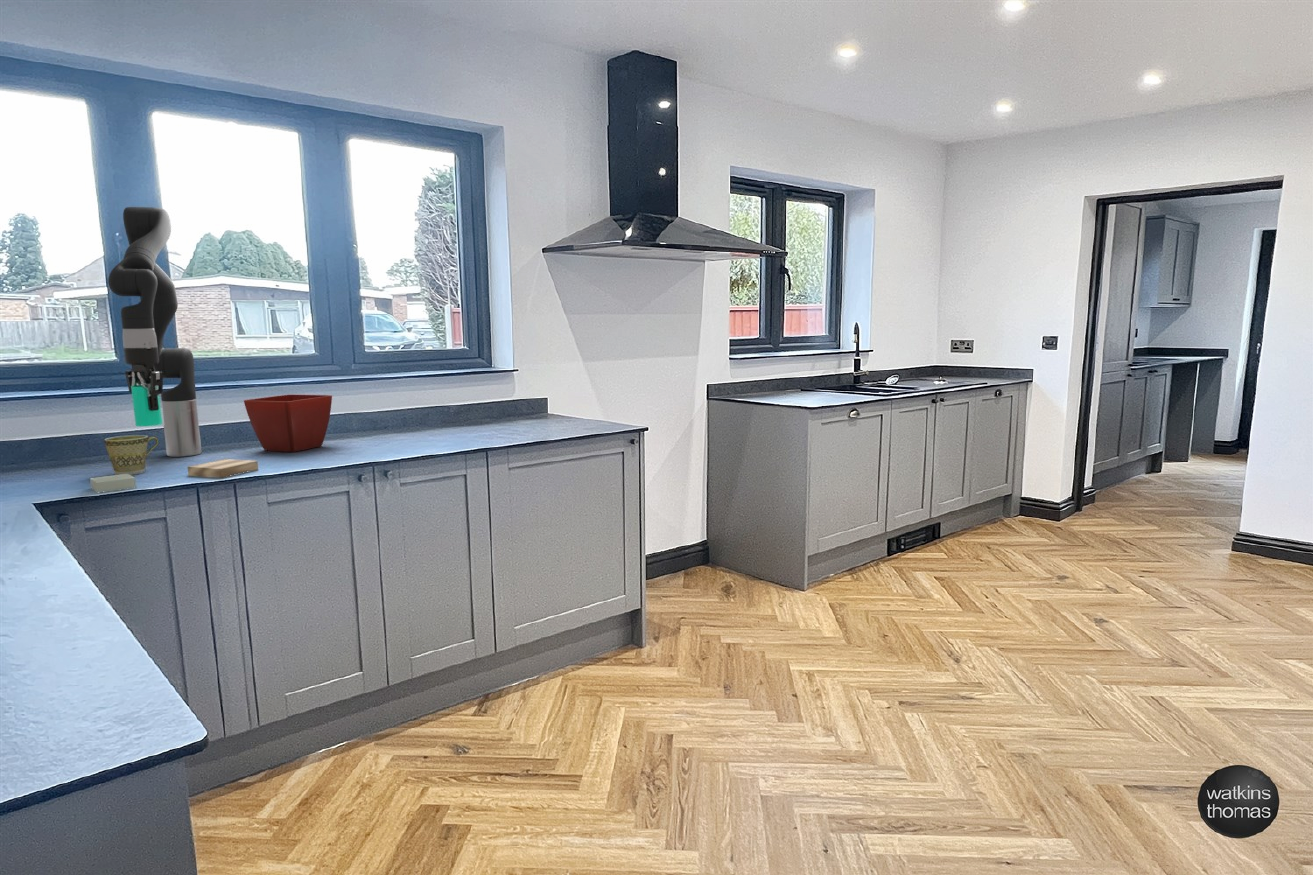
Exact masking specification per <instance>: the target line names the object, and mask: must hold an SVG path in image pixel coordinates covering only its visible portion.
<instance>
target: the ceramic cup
mask: <svg viewBox="0 0 1313 875" xmlns="http://www.w3.org/2000/svg"><path fill="white" fill-rule="evenodd" d="M152 439H154V440H155V444H154V445H153V446H152V447H150V449H149V450H148V443H149V442H150V441H151V440H152ZM103 441H104V445H105V448H106V451H107V454H108V456H109V460H110V463H111V465H112V470H113V472H114V475H120V474H129V475H131V476H135V475H141V474H142V473H145V471H146V460H147V456H148V455H149V454H150V453H151V452H152V451H153V449H155V448H156V447H157V446H158V444H159V439H158V438H157V437H155V436H150V437H149V436H148V435H146V434H145V435H144V434H143V435H142V434H133V435H131V434H130V435H118V436H112V437H107V438H105V439H103Z"/></svg>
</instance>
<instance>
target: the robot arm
mask: <svg viewBox="0 0 1313 875" xmlns="http://www.w3.org/2000/svg"><path fill="white" fill-rule="evenodd" d="M122 219H123V225H124V230H125V234H126V238H127V242H128V244H129V245H128V247H127V248H126V250H125V252H124V256H123V259H122V260H121V261H120V262H118V263H117V265H115V266H114V267H113V268H112V269H111V271H110V273H109V275H108V280H107V281H108V282H107V283H108V287H109V289H110V290H111V292H112V293H113V294H115V295H116V296H118V297H119V296H120V297H139V299H140V301H139V302H138V303H136V304H132V305H126V306H123V307H121V309H120V317H121V319H120V320H121V325H122V345H123V353H124V363H125V364H126V365H129V366H131V370H125V372H124V374H125V378H126V384H127V387H128V392H129V393H130V394H132V390H131V386H134V387H143V388H144V389H145V390H146V393H147V396H148V397H147V398H148V407H149V410H150V411H155V410H158V409H159V405H158V396H159V397H160V398H161V406H162V415H163V416H162V418H163V423H164V424H163V432H164V441H165V450H166V455H167V457H172V458H173V457H176V458H177V457H188V456H195V455H201V454H202V453H201V452H202V444H201V443H202V441H201V434H200V432H201V431H200V426H199V425H200V423H199V413H198V405H197V396H196V392H197V391H196V380H195V379H196V378H195V377H196V376H195V360H194V355H193V352H192V351H191V349H189V348H186V347H184V348H183V347H175V348H174V347H173V348H172V347H170V348H165V347H164V346H165V345H164V337H165V334H166V332H167V329H168V327H169V325H170V323H171V322H172V320H173V318H174V316H175V314H176V313H177V310H178V306H179V303H178V297H177V291H176V287H175V284H174V282H173V280H172V279H171V277H169V275H168V274H167V273H166V272H165V271H164V270H163V269H162V268H161V266H159V265H158V264H157V263H156V261H157V257H158V256H159V254H160V252H162V250H163V248H165V245H166V244H167V242H168V240H169V239H170V237H171V232H172V223H171V218H170V215H169V213H168V212H167V210H166V209H164V208H162V207H156V206H155V207H152V206H151V207H149V206H141V207H140V206H127V207H125V208H124V209H123V213H122ZM164 379H180V382H179V384H177V385H176V386H174V387H172V388H169V389H168V388H167V389H166V390H163V389H164V384H163V381H164ZM157 387H158V388H157ZM150 388H151V391H150Z"/></svg>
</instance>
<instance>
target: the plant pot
mask: <svg viewBox="0 0 1313 875" xmlns="http://www.w3.org/2000/svg"><path fill="white" fill-rule="evenodd" d="M332 400H333V395H330V394H329V395H328V394H327V395H326V394H293V393H292V394H282V395H272V396H267V397H266V396H265V397H258V398H250V399H244V400H243V402H244V403H243V404H244V408H245V410H246V414H247V416H248V419H249V423H250V425H251V426H252V429H253V432H254V433H255V435H256V437H257V439H258V441H259V443H260V445H261V447H262V449H263V450H264V451H267V450H268V451H267V452H270V451H271V452H284V453H285V452H287V453H291V452H292V453H294V452H300V451H305V450H308V449H314V448H319V447H322V446H323V443H324V440H325V439H326V438H325V437H326V435H327V429H328V426H329V422H330V415H331V411H332Z"/></svg>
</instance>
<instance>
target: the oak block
mask: <svg viewBox="0 0 1313 875" xmlns="http://www.w3.org/2000/svg"><path fill="white" fill-rule="evenodd" d="M247 471H252V472H256V471H259V464H258V461H257V460H249V459H248V460H246V459H232V458H231V459H229V458H224V459H219V460H213V461H210V462H204V463H199V464H194V465H189V466H187V476H188V475H189V476H188V477H198V476H200V477H201V478H211V477H219V478H218V479H223V478H222V477H225V478H227V477H226V476H230V475H234V474H238V473H243V472H247ZM247 473H248V472H247ZM243 474H244V473H243ZM234 476H235V475H234ZM230 477H231V476H230Z"/></svg>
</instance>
